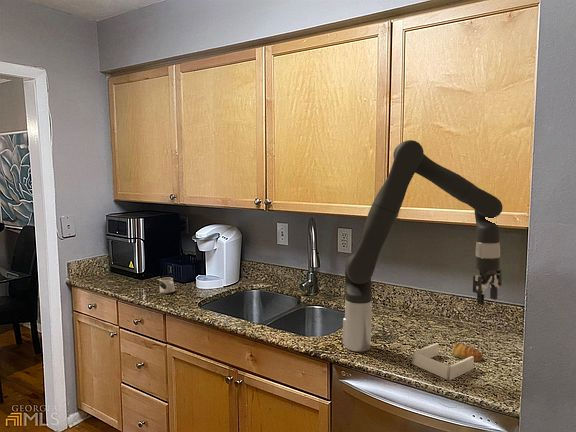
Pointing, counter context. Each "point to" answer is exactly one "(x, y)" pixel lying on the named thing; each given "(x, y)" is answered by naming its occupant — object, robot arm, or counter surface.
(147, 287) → the counter surface
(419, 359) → the bin
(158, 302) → the counter surface
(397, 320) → the counter surface
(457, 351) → the pastry
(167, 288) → the mug
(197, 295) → the counter surface
